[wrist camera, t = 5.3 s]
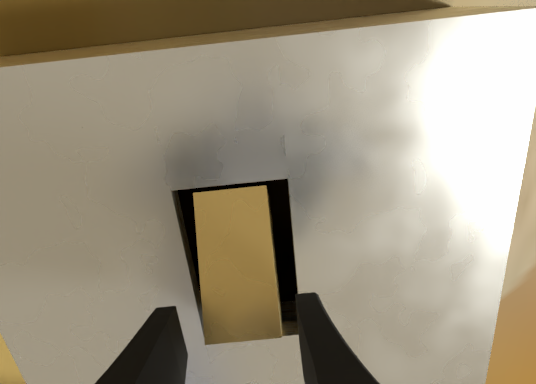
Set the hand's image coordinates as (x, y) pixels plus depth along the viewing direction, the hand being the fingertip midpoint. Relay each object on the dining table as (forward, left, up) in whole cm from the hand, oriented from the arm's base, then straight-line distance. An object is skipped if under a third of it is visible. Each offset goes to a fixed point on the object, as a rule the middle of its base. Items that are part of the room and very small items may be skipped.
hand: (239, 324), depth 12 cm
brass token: (-1, 0, -6) cm, 6 cm away
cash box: (0, 0, -9) cm, 9 cm away
